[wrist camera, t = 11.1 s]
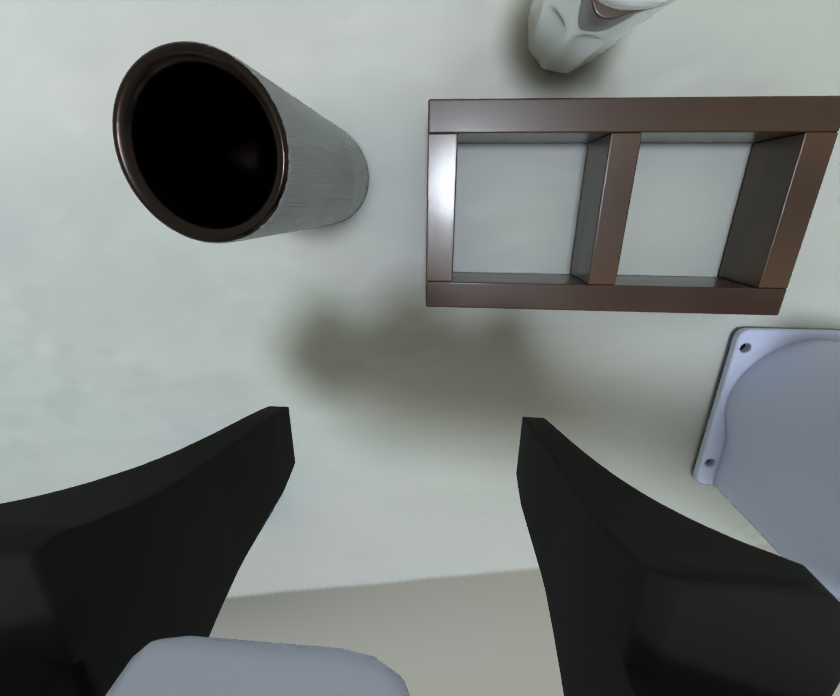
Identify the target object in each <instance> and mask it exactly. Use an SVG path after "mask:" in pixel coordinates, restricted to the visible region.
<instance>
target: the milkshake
mask: <svg viewBox="0 0 840 696" xmlns="http://www.w3.org/2000/svg"><path fill="white" fill-rule="evenodd" d="M674 1H676V0H533V1H532V5H531V9H530V13H529V17H528V42H529V51H530V52H531V54H532V55H533V56H534V58H535V59H536V60H537V62H538V63H539V64H540V66H541V67H542V68H543V70H548V71H554V72H559V73H564V74H567V73H569V72H571V71H573V70H575V69H576V68H578V67H580V66H582V65H584V64H586V63H588V62H589V61H591V60H592V59H594V58H595V57H596V56H598V55H599V54H600V53H602V52H603V51H604V50H606V49H607V48H608V47H610V46H611V45H612V44H614V43H615V42H617V41H618V40H619V39H621V38H622V37H623V36H625V35H626V34H627V33H629V32H630V31H631V30H633V29H634V28H635V27H637V26H638V25H639V24H641V23H643V22H644V21H646V20H647V19H649V18H650V17H652V16H653V15H655V14H656V13H658V12H659V11H661V10H662V9H664V8H665V7H667V6H668V5H670V4H671V3H673V2H674Z"/></svg>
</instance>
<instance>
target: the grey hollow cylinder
mask: <svg viewBox="0 0 840 696" xmlns="http://www.w3.org/2000/svg"><path fill="white" fill-rule="evenodd" d="M112 122H113V138H114V145H115V150H116V154H117V157H118V160H119V163H120V166H121V169H122V171H123V173H124V176H125V178H126V180H127V182H128V183H129V185H130V187H131V189H132V190H133V192H134V193H135V195H136V196H137V197H138V199H139V200H140V201H141V203H142V204H143V205H144V206H145V207H146V208H147V209H148V210H149V212H150V213H152V214H153V215H154V216H155V217H156V218H157V219H158V220H159V221H161V222H162V223H163V224H165V225H166V226H167V227H169V228H171V229H172V230H174V231H176V232H178V233H179V234H182V235H184V236H186V237H189V238H191V239H194V240H198V241H202V242H208V243H229V242H236V241H242V240H247V239H253V238H259V237H264V236H270V235H276V234H281V233H287V232H292V231H298V230H304V229H309V228H315V227H321V226H326V225H332V224H336V223H339V222H341V221H343V220H345V219H347V218H349V217H350V216H351V215H353V214H354V213H355V212H356V211H357V209H358V208H359V207H360V205H361V204H362V202H363V200H364V198H365V195H366V192H367V187H368V169H367V164H366V161H365V158H364V156H363V153H362V152H361V150H360V148H359V146H358V145H357V144H356V142H355V141H354V140H353V139H352V138H351V137H350V136H349V135H348V134H347V133H346V132H344V131H343V130H342V129H340V128H339V127H337V126H336V125H334V124H333V123H331V122H330V121H328V120H327V119H325V118H324V117H323V116H321V115H320V114H318V113H317V112H315V111H314V110H312V109H311V108H309V107H308V106H306V105H305V104H304V103H302V102H301V101H299V100H298V99H296V98H295V97H293V96H292V95H290V94H289V93H287V92H286V91H284V90H283V89H282V88H280V87H279V86H277V85H276V84H274V83H273V82H271V81H270V80H268V79H267V78H265V77H264V76H262V75H261V74H260V73H258V72H257V71H255V70H254V69H252V68H251V67H249V66H248V65H246V64H245V63H243V62H242V61H240V60H239V59H237V58H236V57H234V56H232V55H231V54H229V53H227V52H225V51H223V50H221V49H219V48H216V47H214V46H211V45H208V44H204V43H199V42H191V41H181V42H172V43H167V44H164V45H161V46H158V47H156V48H154V49H152V50H150V51H148V52H147V53H146V54H144V55H143V56H141V57H140V58H139V59H138V60H137V61H136V62H135V63H134V64H133V65H132V66H131V68H130V69H129V70H128V72H127V73H126V75H125V76H124V78H123V80H122V82H121V84H120V86H119V89H118V92H117V95H116V98H115V103H114V109H113V120H112Z"/></svg>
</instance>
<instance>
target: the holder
mask: <svg viewBox="0 0 840 696" xmlns="http://www.w3.org/2000/svg"><path fill="white" fill-rule="evenodd" d="M839 128H840V96H748V97H635V98H522V99H430V100H429V101H428V133H429V134H428V172H427V249H426V306H427V307H464V308H504V309H544V310H584V311H624V312H664V313H704V314H744V315H778V314H779V311H780V308H781V305H782V301H783V298H784V295H785V292H786V289H785V288H787V287H788V284H789V281H790V278H791V275H792V272H793V269H794V266H795V263H796V259H797V256H798V253H799V250H800V247H801V244H802V241H803V238H804V235H805V232H806V229H807V226H808V223H809V220H810V217H811V214H812V211H813V208H814V205H815V202H816V199H817V196H818V193H819V190H820V187H821V184H822V180H823V177H824V174H825V171H826V168H827V165H828V162H829V159H830V156H831V153H832V150H833V147H834V144H835V141H836V138H837V135H838V133H837V131H839ZM711 142H755V143H754V144H753V147H752V151H751V154H750V158H749V162H748V166H747V169H746V173H745V177H744V181H743V185H742V188H741V192H740V196H739V200H738V203H737V207H736V211H735V215H734V218H733V222H732V226H731V230H730V233H729V237H728V241H727V245H726V248H725V252H724V256H723V260H722V264H721V267H720V271H719V275H718V277H679V276H627V275H617V271H618V265H619V260H620V254H621V249H622V243H623V237H624V232H625V226H626V220H627V215H628V209H629V204H630V198H631V192H632V187H633V181H634V175H635V170H636V164H637V159H638V153H639V147H640V143H711ZM457 143H589V144H588V149H587V156H586V163H585V171H584V178H583V185H582V193H581V200H580V207H579V214H578V222H577V229H576V236H575V243H574V251H573V258H572V265H571V272H570V273H571V274H523V273H471V272H453V251H454V223H455V195H456V167H457Z"/></svg>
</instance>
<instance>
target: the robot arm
mask: <svg viewBox="0 0 840 696" xmlns="http://www.w3.org/2000/svg"><path fill="white" fill-rule="evenodd" d="M743 344H745V347H744V348H743V349H742V350H740V347H741V345H743ZM708 459H710V461H708V462H706V461H707V460H708ZM294 464H295V457H294V449H293V440H292V432H291V424H290V415H289V407H275V406H269V407H266V408H264V409H261V410H259V411H257V412H255V413H253V414H251V415H249V416H247V417H245V418H243V419H241V420H239V421H237V422H235V423H233V424H231V425H229V426H228V427H226V428H224V429H222V430H220V431H218V432H216V433H214V434H212V435H210V436H208V437H206V438H204V439H201V440H199V441H197V442H195V443H193V444H191V445H189V446H187V447H185V448H182V449H180V450H178V451H176V452H173V453H171V454H169V455H166V456H164V457H162V458H159V459H156V460H154V461H151V462H149V463H146V464H144V465H141V466H138V467H135V468H133V469H130V470H127V471H124V472H120V473H117V474H114V475H111V476H108V477H105V478H102V479H99V480H96V481H93V482H89V483H86V484H82V485H79V486H75V487H71V488H68V489H64V490H60V491H56V492H52V493H48V494H44V495H40V496H36V497H31V498H27V499H22V500H17V501H12V502H7V503H2V504H0V696H410V694H409V692H408V689H407V687H406V684H405V682H404V680H403V679H402V678H401V677H400V675H399V674H397V673H396V672H395V671H393V670H392V669H390V668H389V667H388V666H387V665H385V664H384V663H382V662H381V661H380V660H378V659H377V658H376V657H373V656H369V655H366V654H362V653H358V652H354V651H351V650H347V649H343V648H331V647H321V646H308V645H296V644H284V643H272V642H260V641H246V640H235V639H222V638H210V637H209V635H210V633H211V630H212V628H213V626H214V623H215V621H216V618H217V616H218V614H219V612H220V609H221V607H222V605H223V603H224V600H225V598H226V596H227V594H228V592H229V589H230V587H231V585H232V583H233V581H234V579H235V576H236V574H237V572H238V570H239V568H240V566H241V564H242V562H243V560H244V559H245V557H246V555H247V553H248V551H249V550H250V548H251V546H252V545H253V543H254V541H255V539H256V538H257V536H258V534H259V533H260V531H261V529H262V528H263V526H264V524H265V522H266V521H267V519H268V517H269V516H270V514H271V512H272V510H273V509H274V507H275V505H276V504H277V502H278V500H279V498H280V497H281V495H282V493H283V491H284V489H285V487H286V484H287V482H288V480H289V477H290V474H291V472H292V469H293V467H294ZM516 474H517V481H518V488H519V495H520V501H521V506H522V509H523V513H524V516H525V520H526V523H527V527H528V530H529V534H530V537H531V540H532V544H533V547H534V551H535V554H536V557H537V561H538V564H539V568H540V571H541V574H542V578H543V583H544V587H545V591H546V596H547V601H548V606H549V611H550V617H551V622H552V627H553V633H554V638H555V645H556V650H557V656H558V662H559V667H560V673H561V679H562V686H563V692H564V696H832V695H833V693H834V691H835V689H836V688H837V686H838V684H839V682H840V602H839V601H838V600H840V330H820V329H783V328H741V329H739V330H738V331H737V332H736V333H735V334H734V336H733V339H732V342H731V346H730V349H729V353H728V356H727V359H726V363H725V366H724V370H723V373H722V376H721V380H720V383H719V387H718V390H717V393H716V397H715V400H714V404H713V407H712V410H711V414H710V417H709V421H708V424H707V427H706V431H705V434H704V438H703V441H702V444H701V448H700V451H699V455H698V458H697V461H696V465H695V468H694V472H693V477H694V479H695V480H696V481H697V482H699V483H701V484H714V485H715V486H716V487H717V488H718V489H719V491H720V492H721V493H722V494H723V495H724V496H725V497H726V498H727V499H728V500H729V501H730V502H731V503H732V504H733V505H734V506H735V508H736V509H737V510H738V511H739V512H740V513H741V514H742V515H743V516H744V517H745V518H746V519H747V520H748V521H749V522H750V523H751V525H752V526H753V527H754V528H755V529H756V530H757V531H758V532H759V533H760V534H761V535H762V536H763V537H764V538H765V539H766V540H767V542H768V543H769V544H770V545H771V546H772V547H773V548H774V549H775V550H776V551H777V552H778V553H779V554H780V555H781V556H782V557H780V556H778V555H775V554H773V553H770V552H767V551H765V550H762V549H759V548H757V547H754V546H751V545H748V544H746V543H743V542H741V541H738V540H736V539H734V538H731V537H729V536H727V535H724V534H722V533H720V532H718V531H715V530H713V529H711V528H708V527H706V526H704V525H702V524H700V523H698V522H696V521H694V520H691V519H689V518H687V517H685V516H683V515H681V514H679V513H678V512H676V511H674V510H672V509H670V508H668V507H666V506H664V505H662V504H660V503H659V502H657V501H655V500H653V499H652V498H650V497H648V496H646V495H645V494H643V493H641V492H640V491H638V490H637V489H635V488H633V487H632V486H630V485H629V484H627V483H625V482H624V481H622V480H621V479H619V478H618V477H616V476H615V475H613V474H612V473H611V472H609V471H608V470H607V469H605V468H604V467H603V466H601V465H600V464H598V463H597V462H596V461H594V460H593V459H592V458H591V457H589V456H588V455H587V454H586V453H584V452H583V451H582V450H581V449H580V448H578V447H577V446H576V445H575V444H574V443H572V442H571V441H570V440H569V439H568V438H567V437H565V436H564V435H563V434H562V433H561V432H560V431H559V430H557V429H556V428H555V427H554V426H553V425H552V424H550V423H549V422H548V421H547V420H546V419H544V418H535V417H523V419H522V428H521V437H520V446H519V455H518V464H517V473H516ZM836 598H837V599H838V600H837V599H836Z"/></svg>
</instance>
